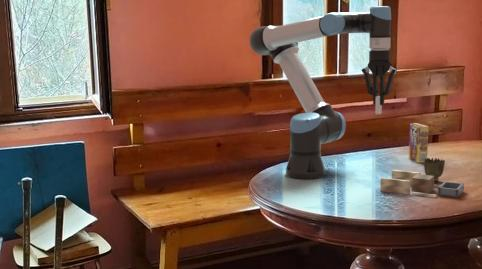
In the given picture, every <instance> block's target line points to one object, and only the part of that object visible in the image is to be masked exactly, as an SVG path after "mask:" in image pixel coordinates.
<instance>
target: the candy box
mask: <svg viewBox="0 0 482 269" xmlns="http://www.w3.org/2000/svg"><path fill="white" fill-rule="evenodd" d="M429 133H430V132H429V126H428V125H425V124H422V123H416V122H413V123H410V124H409V139H408V140H409V141H408V142H409V143H408V159H409V160H411V161H413V162H416V163H418V164H424V161H425V158H426V159H427V158H428V149H429V148H428V147H429V145H428V144H429Z"/></svg>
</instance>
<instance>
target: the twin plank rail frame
mask: <svg viewBox="0 0 482 269" xmlns="http://www.w3.org/2000/svg"><path fill="white" fill-rule="evenodd" d="M416 174H421V172H418V171H409V170H403V169H402V170H400V169H392V170H391V177H380V189H379V190H380V192H385V193H387V192H388V193H396V194H403V195H404V194H405V195H410V194H411V195H412V196H417V197H418V196H419V197H427V198H434V199H436V198H437V194H433V193H432V194H431V193H429V194H428V193H420V192H413V191H411V186H412V177H414V176H415V175H416ZM440 185H441V184H436V183H434V188H437V189H438V187H439V186H440Z"/></svg>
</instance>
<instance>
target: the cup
mask: <svg viewBox="0 0 482 269" xmlns="http://www.w3.org/2000/svg"><path fill="white" fill-rule="evenodd" d="M445 162H446V159H443V158H441V159H440V158H437V157H435V158H433V157H432V158H429V157H427V159H426V158H425V161H424V163H423V168H424V175H431V176H434V183H438V182H439V180H440V177H441V176H442V175H443V173H444V169H445Z"/></svg>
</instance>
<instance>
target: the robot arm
mask: <svg viewBox="0 0 482 269" xmlns="http://www.w3.org/2000/svg"><path fill="white" fill-rule="evenodd" d="M391 24H392V9H391V7H390V6H387V5H383V6H380V5H379V6H377V5H376V6H370V7H369V11H365V12H364V11H363V12H359V11H358V12H356V11H355V12H353V11H349V12H335V11H334V12H329V13H325V14H324V15H322V16H318V17H317V16H316V17H312V18H308V19H304V20H299V21H295V22H291V23H287V24H283V25H282V24H280V25H267V26H266V25H265V26H259V27H256V28H255V29H253V31H252V32H251V33H250V36H249V46H250V49H252V51H253V52H254V53H255V54H257V55H259V56H260V55H261V56H270V57H271V59H272V61H273V63H274V64H278V65H279V66H280V69H281V70H282V71H283V74H284V75H285V78H286V79H287V81H288V83H289V84H290V87H291V88H292V90H293V91H294V94H295V96H296V98H297V99H298V101H299V102H300V104H301V107H302V108H303V110H304V113H298V114H295V115H293V116H292V117H291V118H290V125H289V139H290V140H289V141H290V142H289V143H290V144H289V148H290V149H289V150H290V151H289V152H290V154H289V158H288V162H287V164H286V166H285V175H286V176H287V177H288V178H292V179H299V180H300V179H301V180H310V179H311V180H315V179H319V178H320V179H321V178H323V177H325V175H326V168H325V165H324V160H323V158H322V152H321V151H322V150H321V146H322V145H325V144H328V143H333V142H335V141H338V140H339V139H341V138H342V137H343V136H344V135H345V133H346V127H347V125H346V124H347V123H346V119H345V117H344V115H343V114H341V112H338V111H337V110H336V111H335V110H334V109H333V107H332V105H331V104H330V103H328V102H325V100H324V98H323V97H322V95H321V93H320V91H319V90H318V88H317V86H316V84H315V82H314V81H313V79H312V77H311V76H310V74H309V72H308V70H307V68H306V67H305V65H304V63H303V61H302V59H301V58H300V56H299V54H298V53H299V43H302V42H306V41H311V40H315V39H320V38H324V37H330V36H331V37H332V36H335V35H342V34H369V44H368V48H369V49H370V50H369V51H368V64H367V66H365V67H364V68H361V72H362V73H363V74H362V75H364V80H365V84H366V89H367V93H368V94H369V95H371V96H372V105H373V106H374V105H375V108H374V109H375V110H374V114H375V115H381V114H382V113H383V112H382V110H383V109H382V108H383V105H385V96H388V95H390V93H391V89H392V86H393V83H394V78H395V75H396V73H397V72H398V69H397V68H394V67H393V66H392V63H391V50H390V49H391V32H392V31H391V28H392V25H391ZM388 71H389V74H388V78H387V82H386V75H387V73H388ZM370 72H371V73H372V78H371V75H370Z"/></svg>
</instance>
